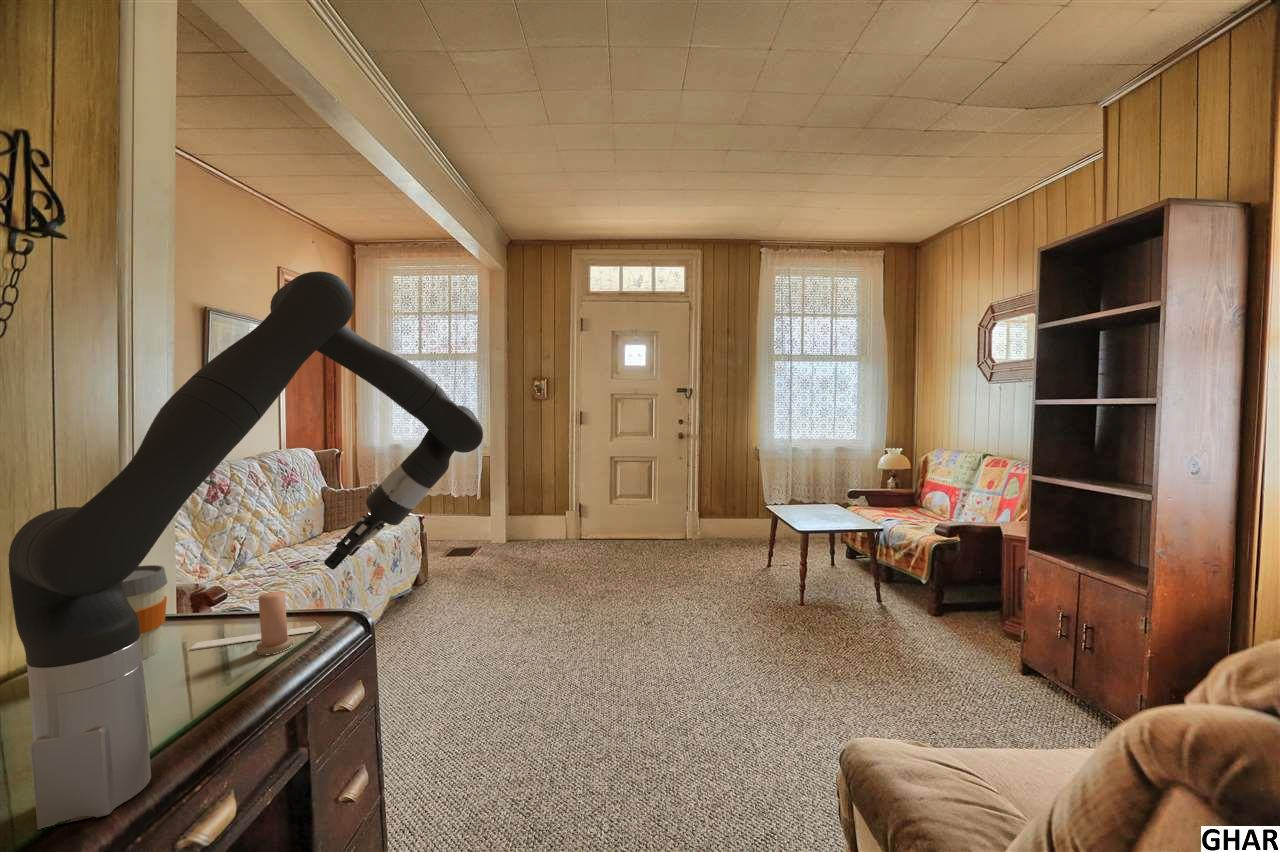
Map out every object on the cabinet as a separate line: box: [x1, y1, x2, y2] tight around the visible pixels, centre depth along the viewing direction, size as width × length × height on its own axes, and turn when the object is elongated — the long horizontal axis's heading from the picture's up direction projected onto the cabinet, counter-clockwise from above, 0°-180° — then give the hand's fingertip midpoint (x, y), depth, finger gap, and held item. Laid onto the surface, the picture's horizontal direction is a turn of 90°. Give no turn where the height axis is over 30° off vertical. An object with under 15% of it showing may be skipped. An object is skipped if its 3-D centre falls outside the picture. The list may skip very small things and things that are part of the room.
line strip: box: [189, 625, 317, 651], centre depth 109 cm, size 3×20×1 cm, turn 108°
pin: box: [256, 590, 294, 656], centre depth 103 cm, size 6×6×10 cm
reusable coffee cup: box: [122, 564, 168, 661], centre depth 102 cm, size 13×12×15 cm
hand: (338, 559), depth 104 cm, fingers open, 8 cm apart
